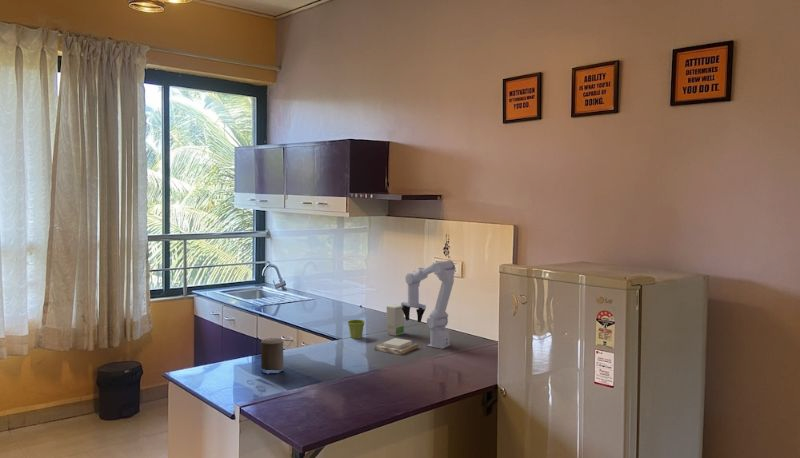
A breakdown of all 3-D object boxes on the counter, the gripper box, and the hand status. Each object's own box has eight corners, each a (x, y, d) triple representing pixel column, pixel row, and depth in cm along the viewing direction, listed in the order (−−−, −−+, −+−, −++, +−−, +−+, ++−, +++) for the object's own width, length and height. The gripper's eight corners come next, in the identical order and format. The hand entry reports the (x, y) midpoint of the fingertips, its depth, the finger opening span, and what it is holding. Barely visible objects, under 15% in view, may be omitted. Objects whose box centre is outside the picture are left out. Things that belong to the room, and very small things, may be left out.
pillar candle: (261, 375, 255) (261, 341, 254) (260, 368, 265) (260, 335, 263) (284, 373, 258) (284, 339, 257) (282, 366, 267) (282, 334, 266)
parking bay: (417, 347, 296) (417, 344, 295) (400, 354, 284) (400, 350, 284) (392, 343, 305) (391, 339, 305) (374, 349, 293) (374, 345, 293)
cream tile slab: (411, 347, 296) (411, 340, 296) (399, 352, 287) (399, 345, 287) (395, 344, 302) (394, 338, 302) (382, 349, 293) (382, 342, 293)
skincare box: (395, 336, 319) (395, 307, 318) (385, 334, 323) (385, 306, 322) (404, 333, 326) (404, 305, 324) (395, 331, 330) (395, 303, 329)
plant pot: (366, 335, 322) (366, 319, 321) (363, 339, 312) (363, 323, 312) (349, 335, 323) (349, 319, 322) (346, 339, 313) (345, 323, 313)
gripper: (428, 295, 311) (429, 321, 312) (406, 293, 320) (406, 317, 321) (421, 298, 306) (421, 323, 307) (398, 295, 314) (399, 320, 315)
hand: (413, 321), depth 313 cm, fingers open, 7 cm apart
